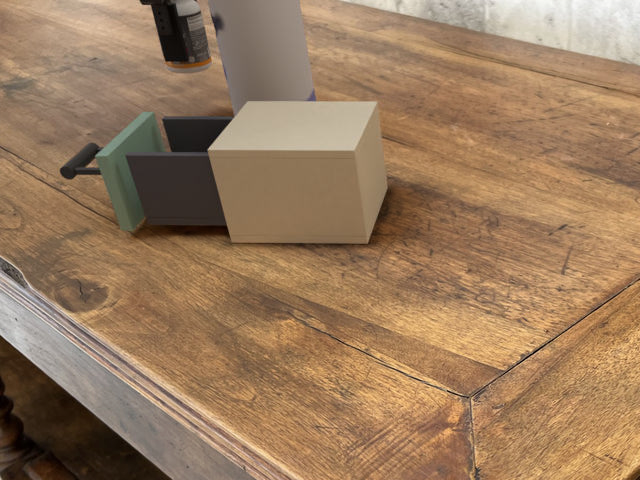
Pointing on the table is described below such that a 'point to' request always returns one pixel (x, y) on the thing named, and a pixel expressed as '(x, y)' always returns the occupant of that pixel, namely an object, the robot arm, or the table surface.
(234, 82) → the container
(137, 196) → the drawer
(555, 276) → the table surface
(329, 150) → the cabinet
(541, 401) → the table surface
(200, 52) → the pill bottle
